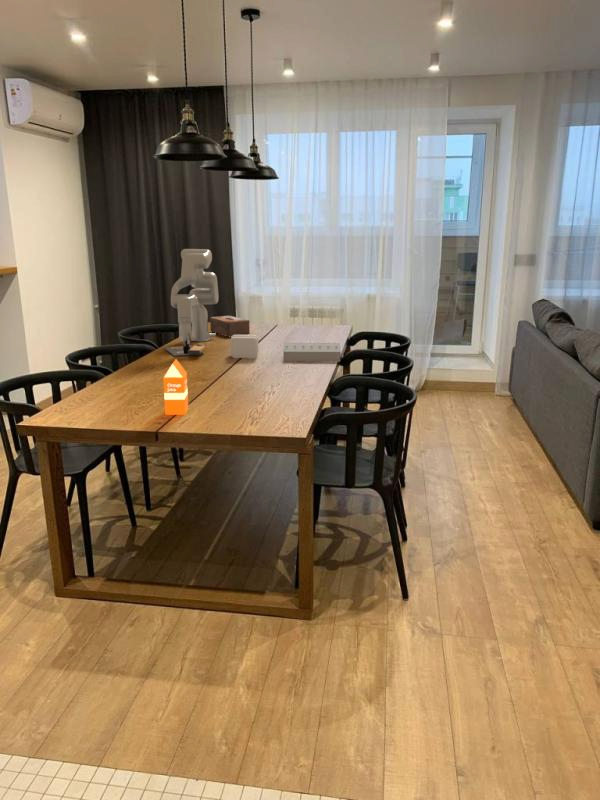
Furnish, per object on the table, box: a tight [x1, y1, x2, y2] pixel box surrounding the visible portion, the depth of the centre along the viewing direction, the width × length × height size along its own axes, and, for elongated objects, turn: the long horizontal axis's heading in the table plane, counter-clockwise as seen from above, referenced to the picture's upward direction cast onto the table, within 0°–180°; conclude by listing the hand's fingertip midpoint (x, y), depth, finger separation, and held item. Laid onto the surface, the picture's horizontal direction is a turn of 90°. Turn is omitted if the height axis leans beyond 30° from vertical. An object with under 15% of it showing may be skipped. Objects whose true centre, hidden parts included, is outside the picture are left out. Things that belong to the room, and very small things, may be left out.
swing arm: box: [188, 343, 206, 354], centre depth 342 cm, size 18×6×2 cm, turn 177°
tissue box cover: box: [209, 315, 251, 337], centre depth 409 cm, size 26×14×10 cm, turn 36°
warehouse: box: [283, 342, 342, 363], centre depth 335 cm, size 30×14×8 cm, turn 89°
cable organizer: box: [230, 334, 259, 360], centre depth 338 cm, size 15×11×12 cm
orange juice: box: [162, 358, 189, 416], centre depth 239 cm, size 8×9×20 cm
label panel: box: [163, 344, 205, 358], centre depth 352 cm, size 18×24×2 cm
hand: (186, 353), depth 339 cm, fingers closed
